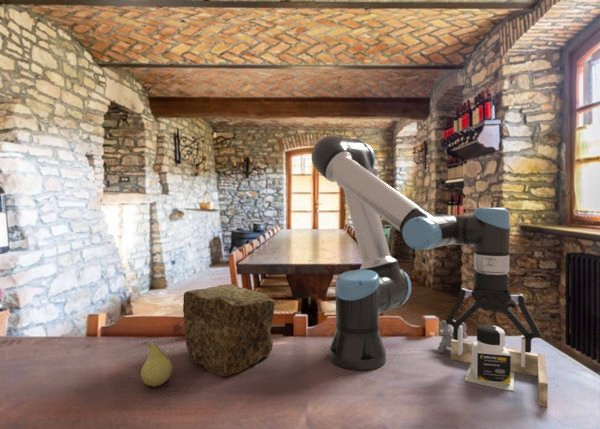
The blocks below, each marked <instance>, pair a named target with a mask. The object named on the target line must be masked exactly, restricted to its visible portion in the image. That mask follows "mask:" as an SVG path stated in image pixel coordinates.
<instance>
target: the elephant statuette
mask: <svg viewBox="0 0 600 429" xmlns="http://www.w3.org/2000/svg"><path fill="white" fill-rule="evenodd" d="M438 326H439V327H438V328H439V329H440V330H439V331H438V335H439V336H441V337H442V338H441V341H440V342H439V344H438V347H437V351H438V353H440V354H443V353H444V350H445V349H446V348H447V347H448V348H450V349H451V340H452V339H454V338H453V326H452V325H450V324H447V323H446V320H441V321H439V324H438ZM460 326H463V340H464V339H468V335H467V334H468V333H466V332H467V325H466V323H465V322H463V323H462V324H461V325H460Z"/></svg>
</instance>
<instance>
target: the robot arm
mask: <svg viewBox="0 0 600 429" xmlns="http://www.w3.org/2000/svg"><path fill="white" fill-rule="evenodd" d="M311 164H312V165H313V167H314V169H315V170H316V171H317V172H318V173H319V174H320V175H321V176H322V177H324V178H325V179H326V180H328V181H329V182H331V183H335V182H336V185H337V186H338V187H339V188H341V189H343V192H344V196H345V200H346V204H347V207H348V211H349V212H348V213H349V215H350V216H349V217H350V219H351V223H352V226H353V230H354V234H355V238H356V242H357V246H358V250H359V254H360V258H361V262H362V263H361V266H360V268H359V269H355V270H354V269H351V270H348V271H344V272H341V274H339V275H338V276H337V278H336V282H335V288H334V290H335V291H334V292H335V332H334V335H333V338H332V341H331V345H330V347H329V359H330V361H331V362H332V363H333V364H335V365H337V366H338V367H341V368H343V369H348V370H355V371H368V370H374V369H377V368H381V367H382V366H383V365H384V364H385V363H386V362H387V359H386V358H387V352H386V351H387V350H386V348H385V346H384V343H383V339H382V336H381V333H380V315H381V314H384V313H385V312H389V311H390V310H396V309H398V308H400V307H401V306H402V305H404V304H405V303H406V302H407V301H408V300H409V298H410V297H411V293H412V282H411V280H410V277H409V274H407V272H405V271H404V270H403V269H402V268H400V265H399V263H398V260H397V259H396V258H394V257H393V256H392V255H391V253H390V249H389V245H388V243H387V242H388V241H387V238H386V235H385V231H384V226H383V224H382V220H381V218H382V219H384V220H385V221H386V222H387V223H389V224H390V225H391V226H393V228H395V229H396V230H397V231H399V232H400V233H401V234H402V237H403V240H404V242H405V244H406V245H407V246H408V247H410V248H411V249H412V250H416V251H428V250H433V249H434V248H439V247H444V246H445V247H446V246H448V245H450V246H451V245H460V246H461V245H462V246H469V247H470V246H474V247H473V250H474V251H473V252H474V253H473V254H474V255H473V258H474V260H473V261H474V262H473V269H474V270H475V271H474V272H473V273H474V274H473V290H471V289H467V288H466V287H462V288H461V289H460V291H459V295H458V299H457V301H456V302H455V304H454V305H453V307H452V309H451V311H450V313H449V314H448V315H447V318H446V319H445V321H446V323H447V324H450V325H452V326H453V338H454V340H458V355H461V354H462V351H463V341H464V338H463V333H464V332H463V326H460V325H461V324H462V323H465V321H467V319H468V318H470V316H472V315H473V314H474V313H475V312H476V311H478V309H482V310H483V311H492V312H496V313H498V312H502V313H503V314H504V315H505V316H506V317H507V318H508V319H509V321H511V323H512V324H513V325H514V326H515V327H516V328H517V330H518V331H519V332H520V333H521V343H520V345H521V346H520V348H521V350H520V351H521V367H525V352H528V353H532V352H531V351H532V340H533V339H540V338H541V337H542V335H541V331H540V329H539V327H538V325H537V323H536V320H535V319H534V317H533V315H532V314H531V312H530V309H529V308H528V306H527V305H526V300H525V295H524V294H523V293H518V294H511V292H510V275H509V272H510V255H511V254H510V239H511V237H510V234H511V224H510V223H511V222H510V212H509V210H508V209H507V208H506V207H477V208H475V209H474V213H473V214H471V215H460V214H459V215H458V214H443V213H441V214H430V213H429V212H427V211H426V210H424V209H422V208H421V207H420V206H419V205H417V204H416V202H413V201H412V200H410V199H409V198H408V197H406V196H405V195H404V194H402V193H401V192H399V191H398V190H397V189H395V188H393V187H392V186H390V185H389V184H387V183H386V182H385V181H383V180H382V179H380V178H379V177H378V176H376V175H375V174H374V173H373V172H374V168H375V167H374V166H375V164H376V156H375V152H374V150H373V148H372V146H370V145H369V144H368V143H367V142H365V141H362V140H359V139H357V138H356V139H355V138H346V137H343V136H342V137H341V136H337V135H328V136H325V137H322V138H321V139H319V140H318V141H317V142H316V143H315V144H314V146H313V148H312V150H311ZM470 296H471V297H472V299H473V300H474V301H475V302H474V303H473V304H472V305H471V306H469V308H467V310H466V311H464V312H463V313H462V314H461V315H460V316H459V317H457V318H456V320H455V319H454V318H455V316H456V315H457V313H458V311H459V309H460V308H461V307H462V305H463V302H464V301H465V299H468V298H469V297H470ZM511 301H513V302H514V303H515V305H518V307H519V309H520V312H521V313H522V315H523V316H524V319H525V321H526V323H527V324H528V326H529V328H530V330H531V331H530V330H529V329H528V327H527V326H526V325H525V324H524V323H523V322H522V321H521V319H520V318H519V317H518V316H517V315H516V314H515V313H514V312H513V310H512V309H511V307H510V306H509V305H508V304H509V303H510V302H511Z"/></svg>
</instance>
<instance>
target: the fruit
mask: <svg viewBox="0 0 600 429" xmlns="http://www.w3.org/2000/svg"><path fill="white" fill-rule="evenodd" d="M142 344H144V345H148V349H149V350H148V355H147V358H146V360H145V361H144V364H143V366H142V367H141V370H140V377H141V379H142V381H143V382H144V383H145V384H146V385H147V386H149V387H154V388H155V387H157V386H158V387H159V386H161V385H163V384H165V383H166V382H167V380H168V379H169V378H170V377H171V375H172V372H173V364H172V361H171V360H170V359H169V358H168V356H166V354H165V353H164V352H163V351H162V350H161V348H159V346H158V345H156V344H155V343H153V342H151V343H150V342H147V341H145V340H142Z"/></svg>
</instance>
